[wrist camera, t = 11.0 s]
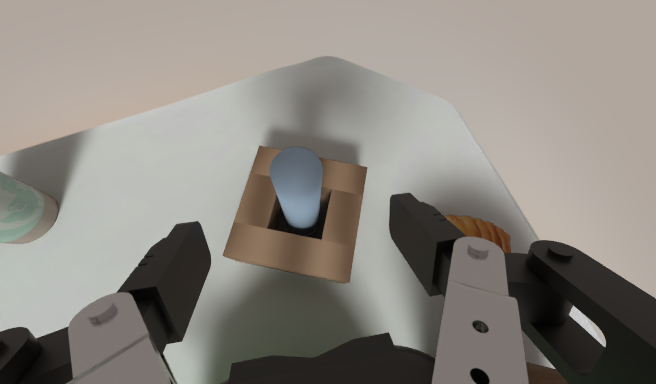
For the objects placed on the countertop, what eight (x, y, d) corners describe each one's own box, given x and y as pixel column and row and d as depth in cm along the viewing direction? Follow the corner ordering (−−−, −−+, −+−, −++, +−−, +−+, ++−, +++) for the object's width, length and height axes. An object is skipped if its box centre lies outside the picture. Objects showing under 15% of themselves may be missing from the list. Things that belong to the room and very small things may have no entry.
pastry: (493, 218, 32) (516, 209, 29) (508, 274, 30) (534, 272, 26) (420, 219, 32) (434, 210, 28) (429, 277, 29) (446, 275, 26)
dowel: (284, 232, 30) (263, 188, 17) (292, 203, 31) (277, 142, 18) (314, 238, 30) (316, 199, 17) (320, 209, 31) (327, 152, 18)
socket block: (237, 261, 29) (222, 255, 24) (267, 166, 33) (259, 145, 28) (343, 283, 28) (349, 282, 24) (359, 184, 33) (367, 167, 28)
